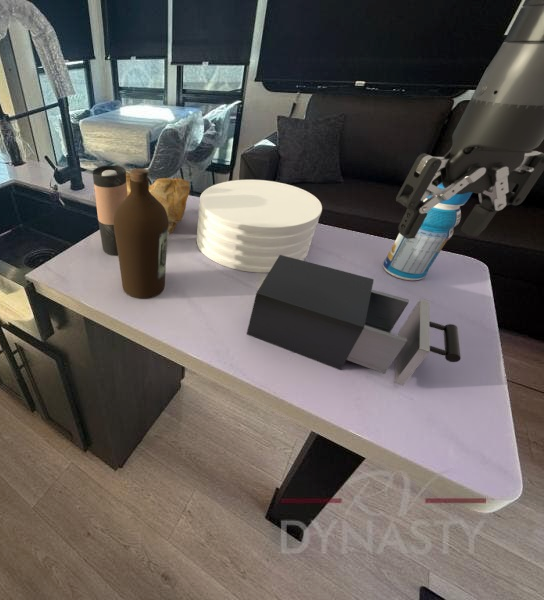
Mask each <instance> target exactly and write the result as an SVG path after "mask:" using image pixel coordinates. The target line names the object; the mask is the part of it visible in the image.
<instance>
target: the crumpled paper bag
mask: <svg viewBox="0 0 544 600" xmlns="http://www.w3.org/2000/svg"><path fill="white" fill-rule="evenodd" d="M130 179H131V176H130V172H127V171H126V181H127V194H128V195H129V194H130V192H131V189H130ZM190 191H191V189H190V183H189V182H188V181H187V180H185V179H184V178H181V177H176V178H168V177H161V178H157V179H155V181H154V182H153V183H151V184H149V192H150V193H151V194H152V195H153V196H154V197H155V198H156V199H157V200H158V201H159V202H160V203H161V204H162V205H163V207H164V208H165V210H166V213H167V216H168V222H169V227H168V234H171V233H173V232H174V230H175V228H176V227H177V224H178V222H182V220H183V217H184V214H185V211H186V208H187V201H188V197H189V196H190V195H189V194H190Z"/></svg>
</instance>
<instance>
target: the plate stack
mask: <svg viewBox="0 0 544 600" xmlns="http://www.w3.org/2000/svg"><path fill="white" fill-rule="evenodd" d="M322 212H323V206H322V203H321V201H320V200H319V199H318V197H316V196H315V195H314V194H312V193H310V192H309V191H307V190H305V189H302V188H300V187H298V186H295V185H291V184H287V183H283V182H278V181H274V180H265V179H235V180H228V181H223V182H220V183H215V184H213V185H211V186H209V187H207V188H206V189H205V190H203V192H202V193H201V194H200V196H199V206H198V219H197V228H196V229H197V230H196V245H197V248H198V249H199V251H200V252H201V253H202V254H203V255H204V256H205V257H206V258H208V259H210V260H211V261H213V262H214V263H216V264H219V265H221V266H224V267H226V268H229V269H233V270H236V271H241V272H247V273H262V274H263V273H269V272H270V270H271V268H272V267H273V265H274V263H275V262H276V260H277V259H278V257H279V255H283V256H287V257H291V258H295V259H298V260H302V261H305V259H306V258H307V256H308V254H309V250H310V247H311V244H312V241H313V238H314V235H315V232H316V228H317V226H318V224H319V221H320V220H319V219H320V217H321V215H322Z"/></svg>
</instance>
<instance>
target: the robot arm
mask: <svg viewBox="0 0 544 600" xmlns="http://www.w3.org/2000/svg"><path fill="white" fill-rule="evenodd" d="M451 135H452V136H451V139H452V144H451V147H450V149H449V150H448V151H447V153H445V154H444V155H443V156H432V155H430V154H428V153H421V154H419V155H418V156H417V157H416V159H415V161H414V163H413V165H412V167H411V168H410V170H409V173H408V174H407V176H406V177H405V179H404V182H403V184H402V185H401V187H400V189H399V191H398V193H397V195H396V197H395V201H396V202H397V203H398V204H401V206H403V207H404V208H406V211H405V213H404V214H403V216H402V219H401V221H400V223H399V224H398V226H397V227H398V229H397V230H398V234H399V233H400V234H401V235H402V236H404V237H405V238H406V239H413V238H415V236H416V234H417V232H418V231H419V229H420V227H421V225H422V223H423V222H424V220H425V218H426V216H427V213H426V212H428V211H429V210H430V209H431V208H433V207H434V206H435V205H437V204H438V203H439V202H441V201H446V200H448V199H450V198H451V197H452V196H454V195H455V194H465V193H469V192H472V194H478V201H479V204H475V205H474V207H473V208H472V210H471V212H470V213H469V214H468V216H467V217H466V219H465V221H464V223H463V224H462V226H461V227H460V231H461V232H462V233H463V234H465V235H466V236H468V237H479V236H480V234H481V233H482V232H483V231H485V230H486V228H487V227H488V225H489V224H490V222H491V221H492V220H493V218H494V217H495V216H496V214H497V212H499V211H502V210H503V209H505V208H506V206H510V205H512V206H518V205H519V206H520V205H521V204H523V202H524V201H525V200H526V198H527V196H528V195H529V194H530V192H531V190H532V189H533V187H534V186H535V184H536V183H537V181H538V180H539V178H540V177H541V175H542V174H543V172H544V152H542V151H537V150H535V149H537V148H539V146H540V145H541V144H542V142H543V141H544V0H524V1H523V3H522V5H521V7H520V9H519V10H518V12H517V14H516V17H515V19H514V20H513V22H512V24H511V27H510V28H509V31H508V32H507V34H506V36H505V38H504V41H503V42H502V44H501V46H500V47H499V49H498V50H497V52H496V53H495V55H494V57H493V58H492V60H491V61H490V63H489V64H488V66H487V67H486V69H485V71H484V73H483V74H482V76H481V79H480V80H479V83H478V85H477V86H476V88H475V90H474V92H473V94H472V96H471V98H470V100H469V101H468V104H467V105H466V107H465V110H464V111H463V114H462V115H461V118H460V119H459V121H458V123H457V125H456V127H455V129H454V131H453V133H452V134H451ZM441 183H442V184H443V187H444V188H445V189H440V188H438V187H437V186H438V185H439V184H441ZM516 185H518V186H517V189H516V190H515V192H514V191H513V190H514V189H515V187H516ZM430 195H432V196H431V197H430V198H428V199H427V200H426V201H425V202H423V200H424V199H426V198H427V197H428V196H430Z"/></svg>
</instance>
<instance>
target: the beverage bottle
mask: <svg viewBox="0 0 544 600" xmlns="http://www.w3.org/2000/svg"><path fill="white" fill-rule="evenodd" d="M437 187H438V188H440V189H445V188H444V187H443V184H442V183H441V184H439V185H438V186H437ZM472 194H473V193H472V192H469V193H465V194H455V195H454V196H452V197H451V198H450V199H448V200H446V201H441V202H439V203H438V204H437V205H435V206H434V207H433V208H431V209H430V210H429V211H428V212H426V213H427V216H426V218H425V220H424V222H423V223H422V225H421V227H420V229H419V231H418V232H417V234H416V236H415V238H413V239H406V238H405V237H404V236H402V235H401V234H400V233H399V232H398V234H397V237H396V239H395V241H394V243H393V245H392V247H391V248H390V250H389V252H388V254H387V256H386V257H385V259H384V261H383V263H382V267H383V270H384V271H385V272H386V273H388V274H389V275H391V276H393V277H395V278H397V279H400V280H405V281H420V280H423V279H424V278H425V277H426V275H428V272H429V270H430V269H431V267H432V265H433V263H434V262H435V260H436V259H437V258H438V256H439V254H440V253H441V251H442V249H443V248H444V247H445V245H446V243H447V242H448V241H449V240H450V239H451V238H452V236H453V235H454V233H455V232H454V228H455V227H457V226H458V225H459V224H460V222H461V219H462V212H461V206H464V205H465V204H466V203H467V202H468V201H469V199H470V198H471V196H472ZM431 196H432V195H430V196H428V197H427V198H426V199H424V200H423V202H425V201H426V200H427V199H428V198H430V197H431Z"/></svg>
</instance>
